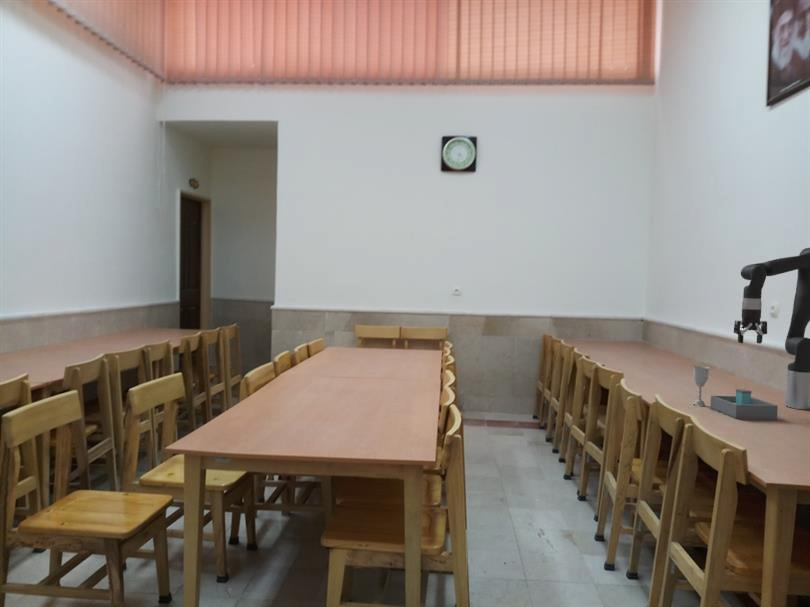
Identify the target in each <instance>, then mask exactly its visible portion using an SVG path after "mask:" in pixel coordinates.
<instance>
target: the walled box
mask: <svg viewBox="0 0 810 607" xmlns="http://www.w3.org/2000/svg"><path fill="white" fill-rule="evenodd" d="M778 406H779V405H777V404H774V403H772V402H769V401H768V402H767V401H765V400H761V399H758V398H756V397H752V396H751V402H750V405H738V404H736V395H710V406H709V407H710V408H711V409H710V410H712V409H713V411H715V410H716V411H715V412H717V411H718V413H720V414H722V413H723V415H725V416H727V415H728V417H730V418H732V417H733V418H732V419H735V420H775V419H777V420H778V408H779V407H778Z"/></svg>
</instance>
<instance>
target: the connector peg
mask: <svg viewBox="0 0 810 607" xmlns="http://www.w3.org/2000/svg"><path fill="white" fill-rule="evenodd" d="M735 396H736V404H738V405H750V402H751V397H752V391H751V390H748V389H746V388H736V389H735Z"/></svg>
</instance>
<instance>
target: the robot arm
mask: <svg viewBox="0 0 810 607" xmlns="http://www.w3.org/2000/svg"><path fill="white" fill-rule="evenodd" d="M796 270H797V279H796V288H795V294H794V298H793V305H792V306H793V307H792V314H791V318H790V325H789V328H788V330H787V331H788V332H787V335H786V339H785V343H784V348H785V351H786V353H788V355H791V356H794V361H793V362H791V363H788V364H787V373H786V388H785V389H786V390H785V391H786V392H785V407H787V406H788V408H790V407H791V409H797V410H810V338H809V337H805V332H806V329H807V325H808V324H809V323H810V247H805V248H803V249H802V250H801V251H800V253H799V255H794V256H787V257H780V258H776V259H772V260H768V261H765V262H758V263H752V264H748V265H745V266H743V268H742V269H741V270H740V276H741V278H742V279H744V280H747V281H750V282H749V284H748V285H746V286H744V287H743V295H742V298H743V299H742V303H741V304H742V305H741V320H734V326H733V333H734V334H736V335H737V343H739V344H744V338H745V337H744V334H746V332H747V331H754V332H755V333H756V344H759V345H760V344H762V342H763V336H764V335H768V321H767V320H761V318H762V307H763V306H762V295H763V294H762V292H763V288H764V285H765V282H766V279H767V277H773V276H778V275H781V274H785V273H788V272H792V271H796Z"/></svg>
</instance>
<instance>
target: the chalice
mask: <svg viewBox="0 0 810 607" xmlns="http://www.w3.org/2000/svg"><path fill="white" fill-rule="evenodd" d="M692 368H693V374H692V376H693V380H694V382H695V385H696V386H697V387H698V390H697V391H698V393H697V397H698V398H697V399H695V400H694V403H693V404H695V405H694V406H696V405H700V406H699V407H706V405H705V401H704V400H703V399H702V395H703V394H702V391H703V390H702V387H705V385H706V384H707V381H708V380H709V370H710V366H704V365H703V366H702V365H692Z"/></svg>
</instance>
